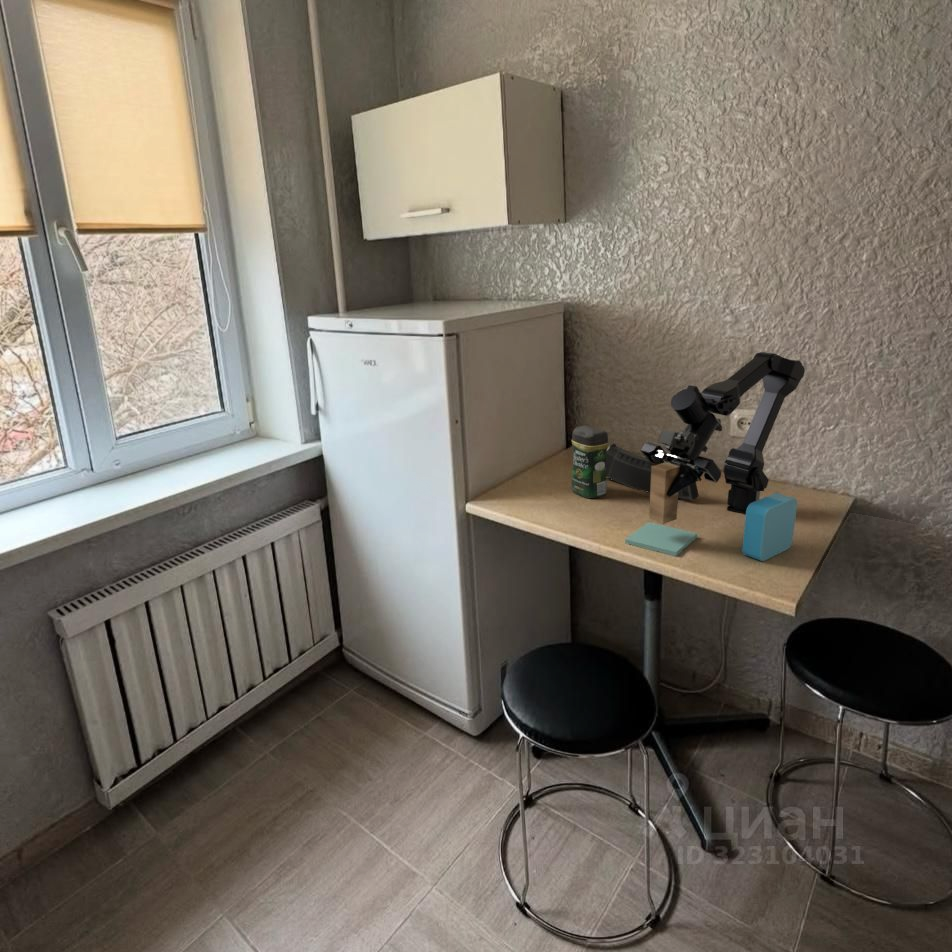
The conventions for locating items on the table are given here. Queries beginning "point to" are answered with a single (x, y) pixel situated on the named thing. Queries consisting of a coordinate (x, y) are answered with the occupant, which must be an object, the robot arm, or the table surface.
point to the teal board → (661, 538)
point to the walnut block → (663, 493)
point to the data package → (769, 526)
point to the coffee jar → (589, 462)
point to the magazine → (637, 471)
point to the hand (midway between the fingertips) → (660, 493)
